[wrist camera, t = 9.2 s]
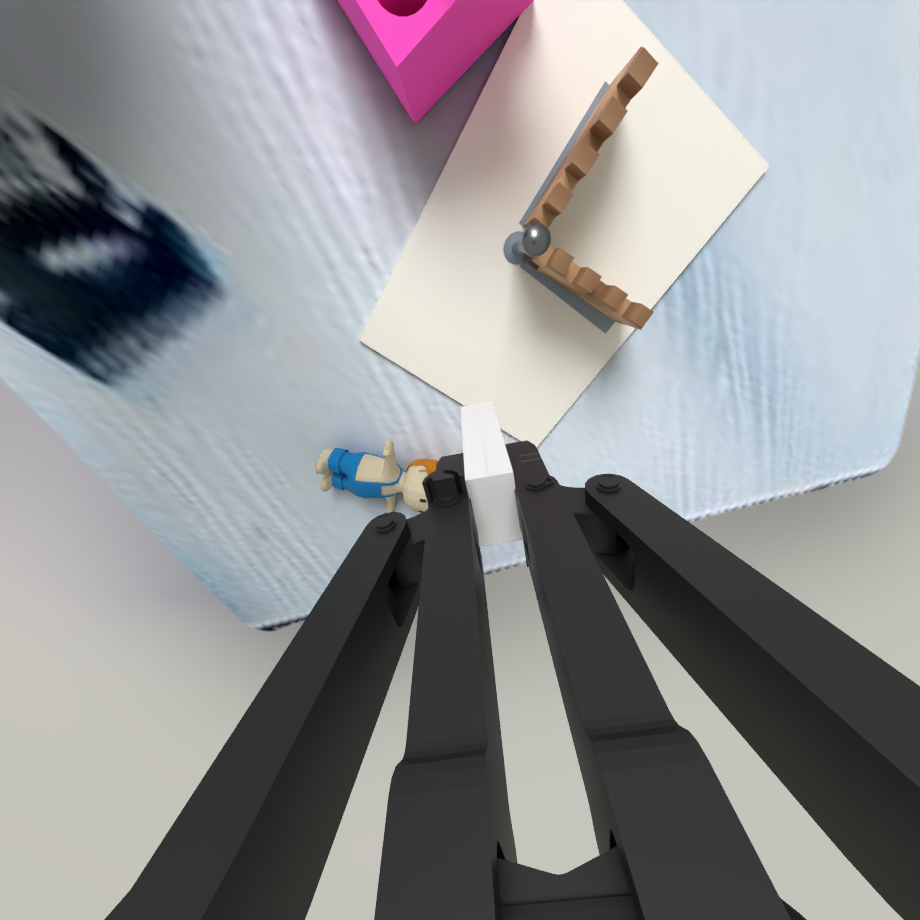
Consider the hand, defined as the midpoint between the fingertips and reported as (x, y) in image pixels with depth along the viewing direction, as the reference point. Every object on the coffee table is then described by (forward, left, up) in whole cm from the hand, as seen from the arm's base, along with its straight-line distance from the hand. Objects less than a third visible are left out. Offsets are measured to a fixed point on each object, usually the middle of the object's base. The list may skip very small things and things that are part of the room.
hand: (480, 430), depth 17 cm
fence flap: (+5, +10, -19) cm, 22 cm away
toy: (0, -15, -20) cm, 25 cm away
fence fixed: (-1, +16, -19) cm, 25 cm away
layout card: (+1, +10, -19) cm, 22 cm away
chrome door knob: (-1, +9, -19) cm, 22 cm away
